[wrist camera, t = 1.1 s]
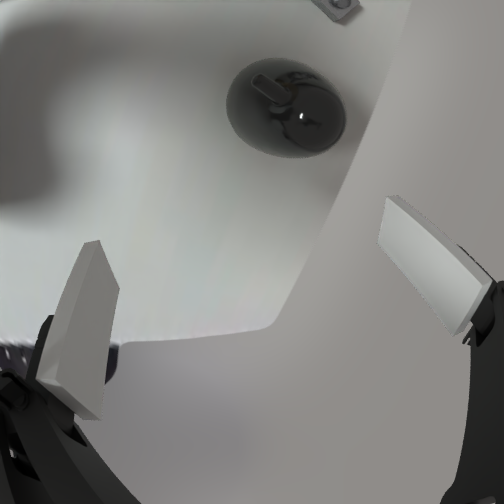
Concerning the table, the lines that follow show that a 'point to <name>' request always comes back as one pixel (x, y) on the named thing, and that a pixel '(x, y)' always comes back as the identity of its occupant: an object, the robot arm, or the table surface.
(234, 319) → the table surface
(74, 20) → the table surface
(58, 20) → the table surface
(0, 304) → the table surface
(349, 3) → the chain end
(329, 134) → the pump dispenser
